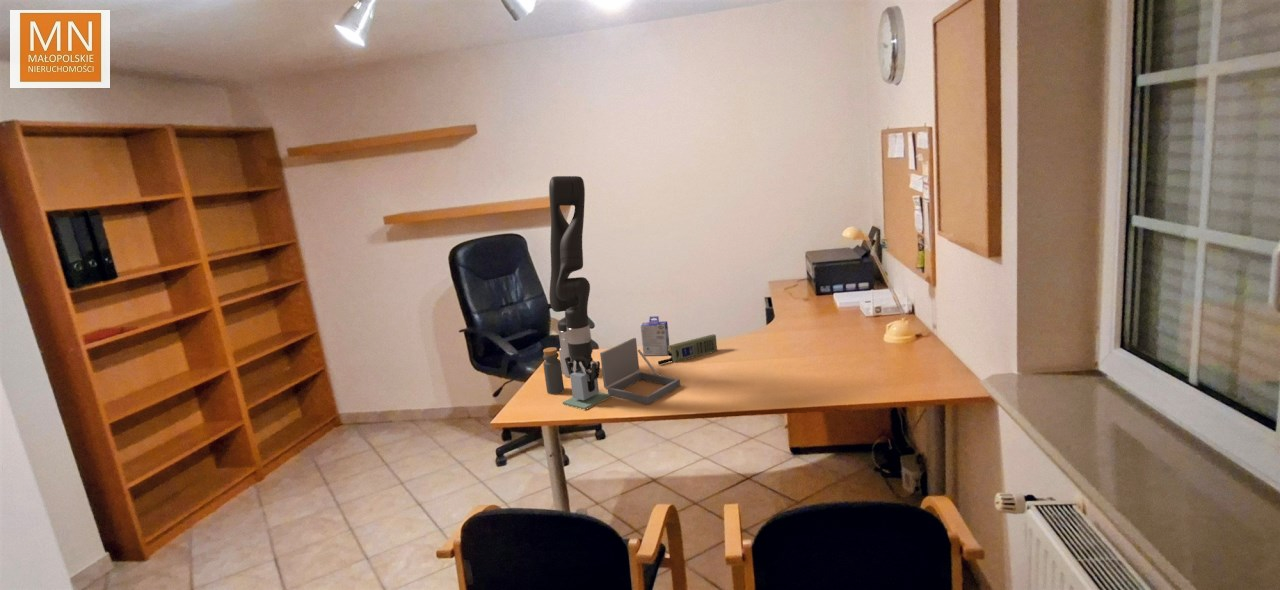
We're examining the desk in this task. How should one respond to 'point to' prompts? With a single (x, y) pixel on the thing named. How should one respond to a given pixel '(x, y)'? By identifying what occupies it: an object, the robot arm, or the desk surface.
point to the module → (582, 386)
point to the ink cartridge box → (655, 337)
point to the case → (631, 374)
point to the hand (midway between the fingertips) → (585, 389)
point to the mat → (587, 401)
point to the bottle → (553, 371)
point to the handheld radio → (691, 348)
